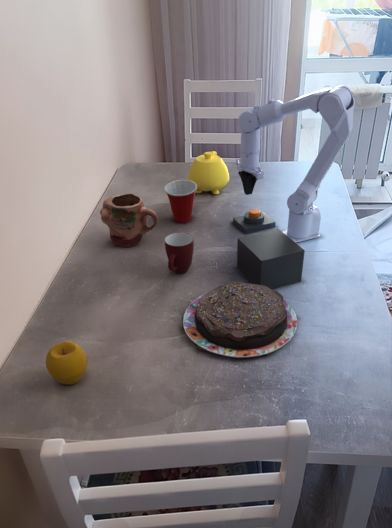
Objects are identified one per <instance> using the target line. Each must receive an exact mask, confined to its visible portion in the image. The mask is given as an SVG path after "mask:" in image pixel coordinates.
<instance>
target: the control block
mask: <svg viewBox="0 0 392 528" xmlns="http://www.w3.org/2000/svg"><path fill="white" fill-rule="evenodd" d="M232 223H233V224H234V225H235V226H236V227H237V228H238V229H240V230H241V231H242V232H243V233H244V234H249V233H255V232H259V231H263V230H267V229H271V228H276V224H277V223H276V221H275V220H274V219H272V218H271V217H270V216H269V215H267V214H266V213H265V212H263V211H260V217H257V218H252V217H249V210H248V211H246V212H245V213H244V215H240V216H235V217H232Z"/></svg>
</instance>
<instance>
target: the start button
mask: <svg viewBox="0 0 392 528" xmlns="http://www.w3.org/2000/svg"><path fill="white" fill-rule="evenodd" d="M248 211H249V217H252V218H257V217H260V212H261V209H259V208H250V209H248Z"/></svg>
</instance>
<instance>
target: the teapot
mask: <svg viewBox="0 0 392 528" xmlns="http://www.w3.org/2000/svg"><path fill="white" fill-rule="evenodd" d="M187 180H189V181H193V182H194V183H196V185H197V189H196V192H195V194H201V193H203V192H211V194H212V195H219V194H220V190H222V189H223V188H224V187H226V185H227V184H228V183H229V181H230V174H229V169H228V167H227V165H226V163H225V162H224V160H223V159H222V157H221V156H220V155H217V151H215V150H210V151H206V152H203V154H200V155H198V156H196V158H195V159H194V160H193V162H192V163H191V166H190V167H189V170H188V175H187Z"/></svg>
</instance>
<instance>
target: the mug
mask: <svg viewBox="0 0 392 528" xmlns="http://www.w3.org/2000/svg"><path fill="white" fill-rule="evenodd" d="M164 250H165V254H166V257H167V260H168V261H167V267H168V270H169V271H171V272H174V273H176V274H185V273H187V272H188V271H189V269H190V267H191V266H192V263H193V258H194V250H195V238H194V236H193V235H192V234H190V233H188V232H173V233H170V234H168V235H166V237H165V238H164Z"/></svg>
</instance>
